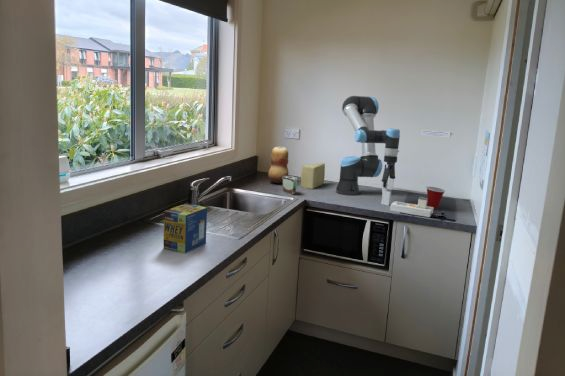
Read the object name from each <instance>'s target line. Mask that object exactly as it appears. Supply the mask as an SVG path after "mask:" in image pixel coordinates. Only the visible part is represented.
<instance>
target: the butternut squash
mask: <svg viewBox="0 0 565 376" xmlns="http://www.w3.org/2000/svg"><path fill="white" fill-rule="evenodd" d="M288 164H289V150H288V149H287V148H286V147H284V146H275V147H274V148H272V150H271V155H270V168H269V170H268V173H267V177H268V179H269V181H270V182H271V183H274V184H283V179H282V177H283V176H289V169H288Z"/></svg>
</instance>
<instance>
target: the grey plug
mask: <svg viewBox="0 0 565 376" xmlns="http://www.w3.org/2000/svg"><path fill="white" fill-rule="evenodd" d="M381 193H382V192H381ZM391 199H392V190H391V189H388V188H387V193H382V195H381V202H380V204H381V205H385V206H390V205H391Z"/></svg>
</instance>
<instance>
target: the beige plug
mask: <svg viewBox="0 0 565 376" xmlns="http://www.w3.org/2000/svg"><path fill="white" fill-rule="evenodd" d="M427 201H428V198H427V197H424V196H423V197H422V196H419V197H418V198H417V205H418V206H417V208H421V209H426V208H427V206H428V202H427Z"/></svg>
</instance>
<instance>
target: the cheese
mask: <svg viewBox="0 0 565 376" xmlns="http://www.w3.org/2000/svg"><path fill="white" fill-rule="evenodd" d="M325 166H326V164H325V163H324V162H319V163H315V164H312V165H311V164H310V165H309V164H307V165H302V167H301V177H300V179H301V180H300V187H301V188H303V187H304V188H305V189H308V188H309V189H308V190H313V189H316V188H317V187H319V186H322V184H323V185H324V184H325V175H326V174H325V173H326V171H325V170H326V167H325Z"/></svg>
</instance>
